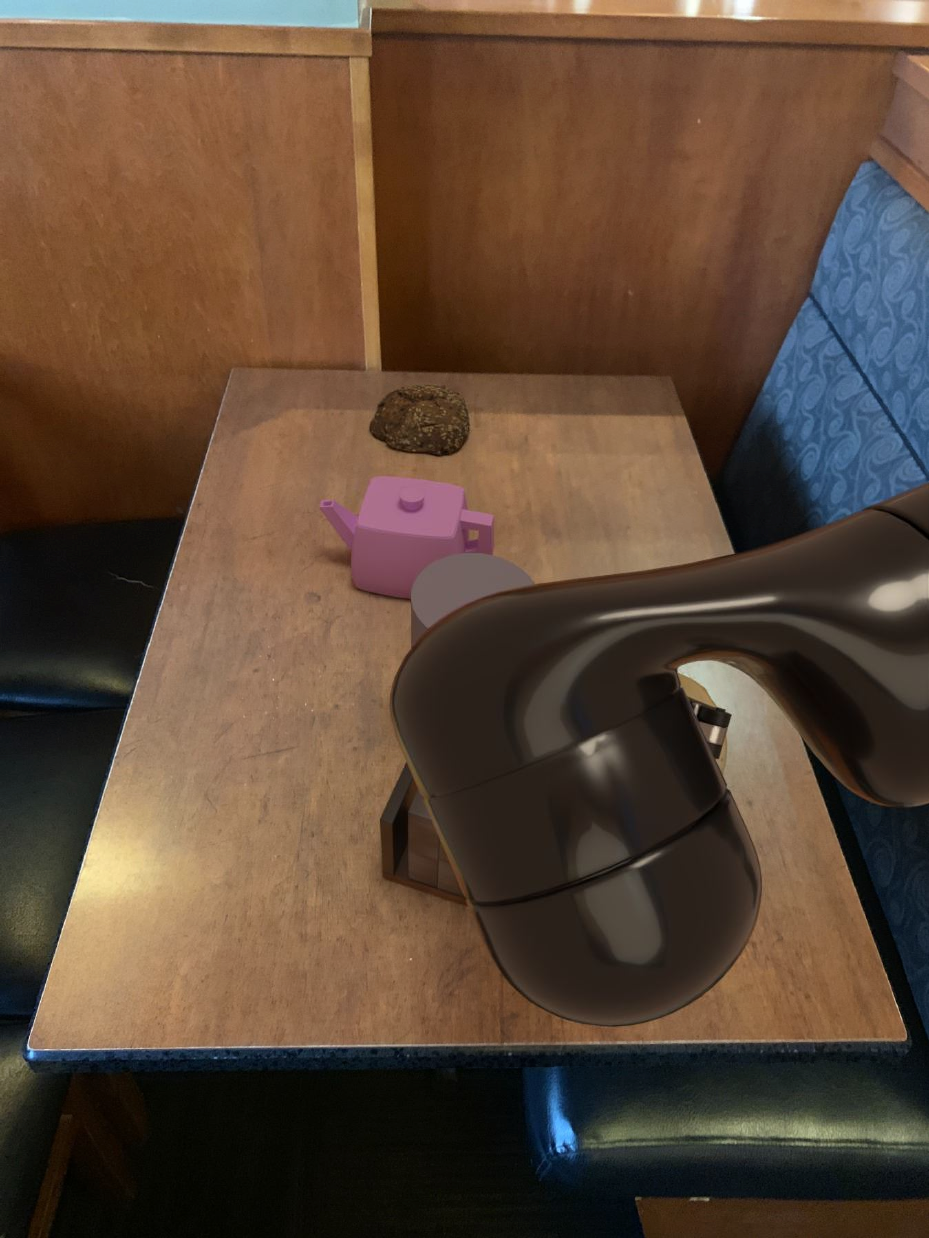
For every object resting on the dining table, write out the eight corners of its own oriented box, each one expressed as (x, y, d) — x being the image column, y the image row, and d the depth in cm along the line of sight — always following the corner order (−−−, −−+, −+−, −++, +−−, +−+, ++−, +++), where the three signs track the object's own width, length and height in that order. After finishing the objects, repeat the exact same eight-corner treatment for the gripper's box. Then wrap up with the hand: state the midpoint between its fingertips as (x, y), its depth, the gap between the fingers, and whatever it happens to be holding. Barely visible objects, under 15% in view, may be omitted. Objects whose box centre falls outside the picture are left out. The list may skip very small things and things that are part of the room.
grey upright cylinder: (404, 751, 75) (403, 638, 64) (417, 662, 82) (418, 548, 71) (520, 761, 75) (539, 650, 64) (523, 671, 82) (540, 558, 71)
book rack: (695, 907, 66) (738, 831, 58) (684, 981, 62) (728, 911, 54) (409, 814, 71) (409, 730, 62) (382, 877, 67) (378, 797, 58)
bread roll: (471, 403, 114) (473, 370, 110) (467, 459, 105) (469, 424, 101) (376, 397, 113) (375, 364, 110) (364, 452, 105) (363, 418, 101)
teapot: (313, 590, 88) (305, 514, 81) (337, 525, 95) (331, 450, 88) (485, 612, 87) (492, 537, 80) (496, 545, 94) (503, 470, 87)
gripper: (782, 679, 36) (732, 661, 53) (470, 594, 38) (519, 602, 55) (732, 848, 36) (699, 776, 53) (427, 752, 39) (488, 712, 56)
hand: (607, 687), depth 54 cm, fingers closed on cream book, 2 cm apart
